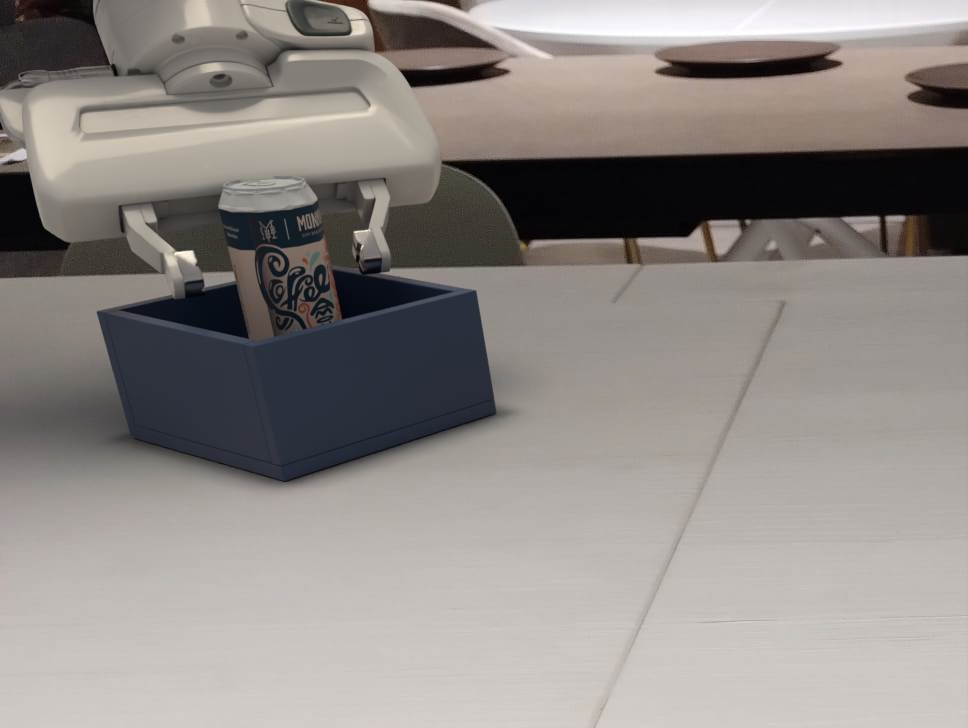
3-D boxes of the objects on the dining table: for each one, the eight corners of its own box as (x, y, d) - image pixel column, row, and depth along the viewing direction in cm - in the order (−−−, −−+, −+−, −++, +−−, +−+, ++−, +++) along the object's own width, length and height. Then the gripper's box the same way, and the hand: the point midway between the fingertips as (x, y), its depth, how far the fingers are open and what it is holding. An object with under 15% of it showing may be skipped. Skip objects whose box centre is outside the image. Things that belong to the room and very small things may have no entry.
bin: (130, 437, 91) (95, 311, 87) (344, 377, 100) (319, 262, 97) (284, 481, 84) (253, 346, 81) (497, 412, 94) (476, 290, 90)
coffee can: (313, 427, 89) (261, 193, 83) (247, 417, 91) (192, 186, 85) (379, 403, 93) (333, 177, 87) (314, 394, 95) (265, 171, 89)
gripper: (-25, 32, 82) (60, 269, 80) (394, 9, 92) (481, 219, 90) (-8, 118, 88) (72, 343, 85) (386, 87, 98) (468, 288, 95)
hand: (286, 279), depth 88 cm, fingers open, 8 cm apart
